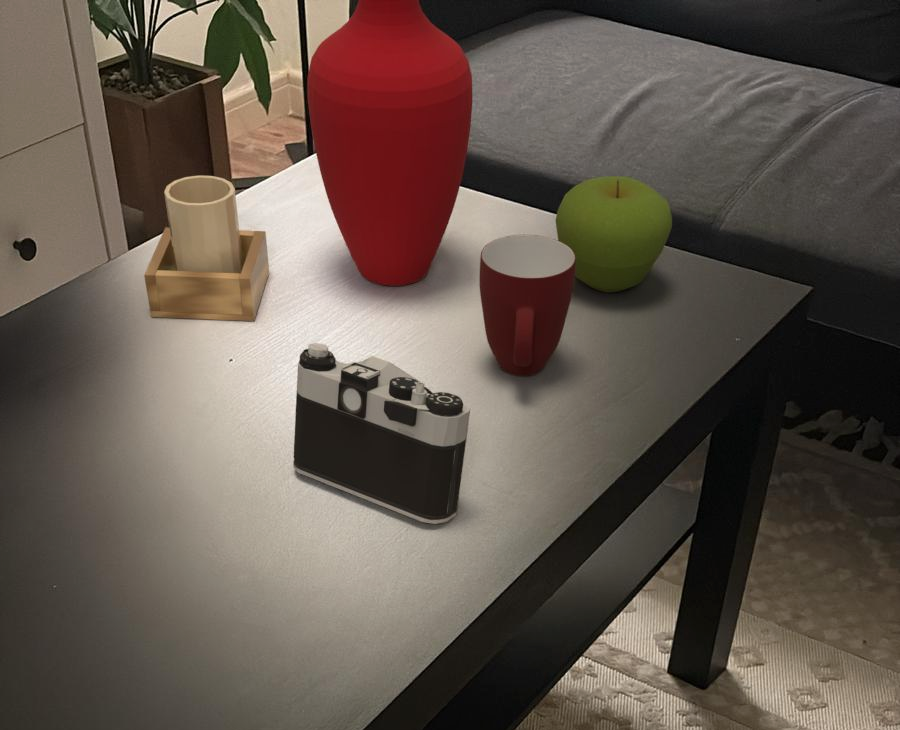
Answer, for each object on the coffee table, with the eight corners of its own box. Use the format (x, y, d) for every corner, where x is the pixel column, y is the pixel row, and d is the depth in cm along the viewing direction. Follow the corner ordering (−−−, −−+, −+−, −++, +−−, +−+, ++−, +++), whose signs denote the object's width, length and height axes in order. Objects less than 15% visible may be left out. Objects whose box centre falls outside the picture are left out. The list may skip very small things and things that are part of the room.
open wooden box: (151, 317, 120) (143, 274, 117) (171, 268, 126) (165, 227, 123) (254, 321, 119) (249, 278, 116) (269, 272, 126) (265, 231, 123)
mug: (575, 403, 111) (586, 292, 103) (483, 405, 110) (487, 294, 103) (560, 341, 118) (569, 233, 110) (472, 343, 117) (476, 234, 110)
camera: (500, 487, 104) (519, 367, 98) (430, 532, 97) (445, 405, 91) (353, 432, 109) (361, 314, 103) (275, 471, 102) (279, 346, 96)
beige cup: (173, 300, 120) (158, 203, 113) (185, 269, 124) (172, 174, 118) (238, 303, 120) (228, 206, 113) (249, 272, 124) (239, 176, 117)
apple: (533, 293, 124) (540, 188, 116) (580, 250, 130) (589, 148, 123) (635, 322, 120) (649, 215, 113) (679, 277, 127) (695, 173, 119)
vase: (350, 228, 132) (335, -120, 110) (487, 251, 130) (499, -102, 107) (295, 293, 123) (266, -74, 101) (441, 319, 120) (444, -53, 98)
